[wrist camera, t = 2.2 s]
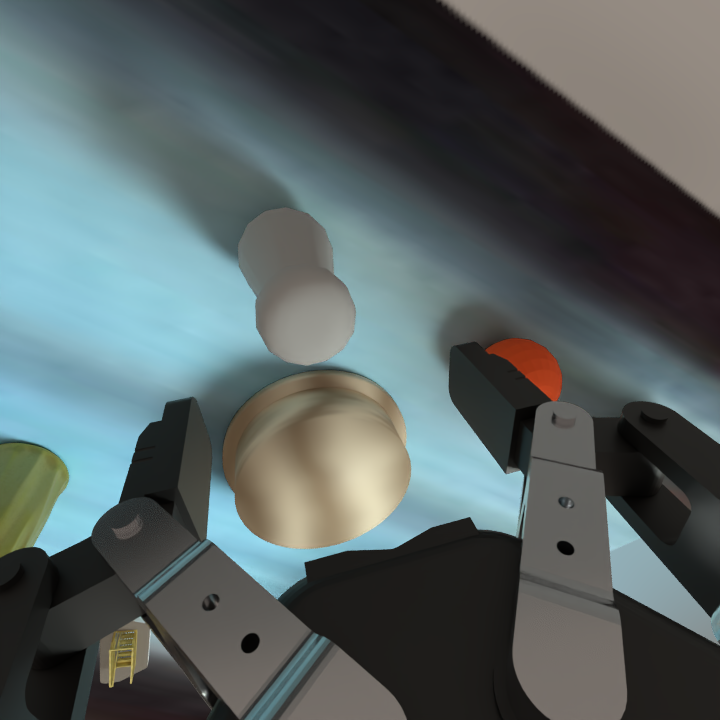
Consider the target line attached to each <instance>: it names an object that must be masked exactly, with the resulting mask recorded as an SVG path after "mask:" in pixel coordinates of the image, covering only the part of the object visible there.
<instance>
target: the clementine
mask: <svg viewBox="0 0 720 720" xmlns="http://www.w3.org/2000/svg"><path fill="white" fill-rule="evenodd" d="M485 351H486V352H487V353H488V354H496V355H498V356H500V357H502V358H504V359H507V360H508V361H509V362H510V363H512V364H513V365H514V366H515V367H516V368H517V370H518V371H520V372H521V373H522V374H524V375H525V377H526V378H528V379H529V380H530V381H531V382H532V383H533V384H535V385H536V386H537V387H538V388H539V389H540V390H541V391H542V392H543V393H544V394H546V395H547V396H548V397H549V398H550V399H551V400H552V401H557V400H558V398H559V396H560V393H561V389H562V373H561V370H560V368H559V365H558V363H557V360H556V359H555V358H554V356H553V355H552V354H551V353H550V352H549V351H548V350H547V349H546V348H545V347H543V346H541V345H539V344H537V343H536V342H534V341H532V340H527V339H520V338H511V339H505V340H502V341H500V342H497V343H495V344H493V345H491V346H490V347H488V348H487V349H486V350H485Z"/></svg>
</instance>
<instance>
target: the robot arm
mask: <svg viewBox="0 0 720 720" xmlns="http://www.w3.org/2000/svg"><path fill="white" fill-rule="evenodd" d="M449 393H450V397H451V400H452V402H453V404H454V405H455V406H456V408H457V409H458V410H459V412H460V413H461V415H462V416H463V417H464V419H465V420H466V421H467V423H468V424H469V425H470V427H471V428H472V429H473V431H474V432H475V433H476V435H477V436H478V437H479V439H480V440H481V441H482V443H483V444H484V445H485V447H486V448H487V449H488V451H489V452H490V453H491V455H492V456H493V457H494V459H495V460H496V461H497V463H498V464H499V465H500V467H501V468H502V469H503V471H504V472H505V473H506V474H509V473H513V472H516V471H520V470H521V472H522V473H523V474H524V479H523V486H522V494H521V502H520V510H519V517H518V525H517V533H516V537H515V536H512V535H509V534H506V533H502V532H497V531H492V530H477V529H476V527H475V525H474V523H473V522H472V520H471V518H470V517H468V518H465V519H461V520H457V521H454V522H450V523H447V524H443V525H439V526H436V527H432V528H430V529H428V530H426V531H425V532H423V533H421V534H420V535H418V536H416V537H414V538H413V539H411V540H409V541H407V542H406V543H404V544H402V545H400V546H399V547H397V548H394V549H387V550H357V551H345V552H341V553H338V554H334V555H330V556H327V557H323V558H319V559H316V560H312V561H309V562H305V569H306V576H307V577H305V578H304V579H302V580H300V581H298V582H297V583H296V584H294V585H293V586H292V587H290V588H289V589H288V590H287V591H286V592H285V593H283V594H282V595H281V596H280V597H279V598H278V599H276V598H274V597H273V596H272V595H271V594H270V593H269V592H268V591H267V590H265V589H264V588H263V587H262V586H261V585H260V584H259V583H258V582H256V581H255V580H254V579H253V578H252V577H251V576H250V575H249V574H247V573H246V572H245V571H244V570H243V569H242V568H241V567H240V566H239V565H237V564H236V563H235V562H234V561H233V560H232V559H231V558H230V557H228V556H227V555H226V554H225V553H224V552H223V551H222V550H221V549H219V548H218V547H217V546H216V545H215V544H214V543H213V542H211V541H210V540H208V539H206V536H207V522H208V508H209V494H210V480H211V466H212V448H211V442H210V438H209V435H208V432H207V429H206V426H205V423H204V421H203V418H202V415H201V412H200V409H199V406H198V403H197V401H196V399H195V398H194V397H190V398H185V399H180V400H175V401H170V402H167V403H166V405H165V409H164V413H163V417H162V421H157V422H152V423H150V424H149V425H148V426H147V427H146V429H145V430H144V431H143V432H142V433H141V434H140V436H139V438H138V441H137V444H136V448H135V453H134V454H133V458H132V464H130V467H129V471H128V474H127V477H126V481H125V484H124V487H123V491H122V494H121V497H120V501H119V504H117V505H116V506H114V507H112V508H111V509H110V510H108V511H107V512H106V513H105V514H104V515H103V516H102V517H101V518H100V519H99V520H98V522H97V523H96V525H95V526H94V528H93V531H92V536H90V537H89V538H87V539H85V540H83V541H81V542H79V543H77V544H75V545H73V546H71V547H69V548H67V549H65V550H63V551H61V552H59V553H57V554H55V555H52V556H50V557H49V556H48V555H47V554H46V552H45V551H44V550H42V549H40V548H37V547H27V548H22V549H18V550H15V551H13V552H10V553H8V554H6V555H4V556H2V557H1V558H0V720H84V718H85V713H86V708H87V703H88V698H89V693H90V688H91V683H92V678H93V673H94V668H95V663H96V658H97V653H98V648H99V643H100V640H101V639H102V638H104V637H106V636H108V635H109V634H111V633H113V632H114V631H116V630H118V629H120V628H121V627H123V626H125V625H126V624H128V623H130V622H131V621H133V620H135V619H137V618H138V617H141V618H142V619H143V621H144V622H145V623H146V624H147V626H148V627H149V628H150V629H151V631H152V632H153V633H154V634H155V636H156V637H157V638H158V640H159V641H160V642H161V643H162V645H163V646H164V647H165V648H166V650H167V651H168V652H169V654H170V655H171V656H172V657H173V659H174V660H175V661H176V662H177V664H178V665H179V666H180V668H181V669H182V670H183V672H184V673H185V674H186V676H187V677H188V679H189V680H190V681H191V683H192V684H193V686H194V687H195V688H196V690H197V691H198V693H199V694H200V695H201V697H202V698H203V699H204V700H205V702H206V703H207V704H208V706H209V707H210V708H211V709H212V711H211V712H210V714H209V716H208V718H207V720H720V646H719V645H717V644H716V643H714V642H712V641H710V640H708V639H706V638H705V637H703V636H701V635H699V634H697V633H695V632H693V631H691V630H690V629H687V628H686V627H684V626H682V625H680V624H679V623H677V622H675V621H673V620H671V619H669V618H667V617H666V616H664V615H662V614H660V613H658V612H656V611H654V610H652V609H651V608H649V607H647V606H645V605H643V604H641V603H639V602H638V601H636V600H634V599H632V598H630V597H628V596H627V595H625V594H623V593H621V592H619V591H617V590H615V589H614V588H612V577H611V576H612V575H611V563H610V550H609V537H608V524H607V511H606V499H605V497H606V498H607V499H608V501H609V502H610V503H611V504H612V505H613V506H614V507H615V509H616V510H617V511H618V512H619V513H620V514H621V515H622V517H623V518H624V519H625V520H626V521H627V522H628V523H629V525H630V526H631V527H632V528H633V529H634V530H635V532H636V533H637V534H638V535H639V536H640V537H641V538H642V539H643V541H644V542H645V543H646V544H647V545H648V546H649V548H650V549H651V550H652V551H653V552H654V553H655V554H656V556H657V557H658V558H659V559H660V560H661V561H662V562H663V564H664V565H665V566H666V567H667V568H668V569H669V570H670V571H671V573H672V574H673V575H674V576H675V577H676V578H677V580H678V581H679V582H680V583H681V584H682V585H683V586H684V587H685V589H686V590H687V591H688V592H689V593H690V594H691V596H692V597H693V598H694V599H695V600H696V601H697V602H698V604H699V605H700V606H701V607H702V608H703V609H704V610H705V612H706V613H707V614H708V615H709V616H710V617H711V625H712V629H713V632H714V635H715V637H716V638H717V640H718V642H719V644H720V444H719V443H717V442H716V441H714V440H713V439H712V438H710V437H709V436H708V435H706V434H705V433H704V432H702V431H701V430H700V429H698V428H697V427H696V426H694V425H693V424H691V423H690V422H689V421H687V420H686V419H685V418H683V417H682V416H681V415H679V414H678V413H676V412H675V411H673V410H672V409H670V408H668V407H665V406H663V405H660V404H656V403H652V402H645V401H637V402H632V403H629V404H627V405H625V406H624V408H623V410H622V413H621V417H620V418H594V417H591V416H590V414H589V413H588V412H587V411H585V410H584V409H582V408H581V407H579V406H577V405H574V404H571V403H567V402H561V401H552V400H551V399H550V398H549V397H548V396H547V395H546V394H544V393H543V392H542V391H541V390H540V389H539V388H538V387H537V386H536V385H535V384H533V383H532V382H531V381H530V380H529V379H528V378H526V377H525V375H524V374H522V373H521V372H520V371H518V370H517V368H516V367H515V366H514V365H513V364H512V363H510V362H509V361H508V360H507V359H504V358H502V357H500V356H498V355H496V354H488V353H487V352H486V351H485V350H484V349H483V348H482V347H481V346H480V345H479V344H478V343H476V342H471V343H466V344H461V345H456V346H453V347H452V348H451V351H450V366H449Z"/></svg>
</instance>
